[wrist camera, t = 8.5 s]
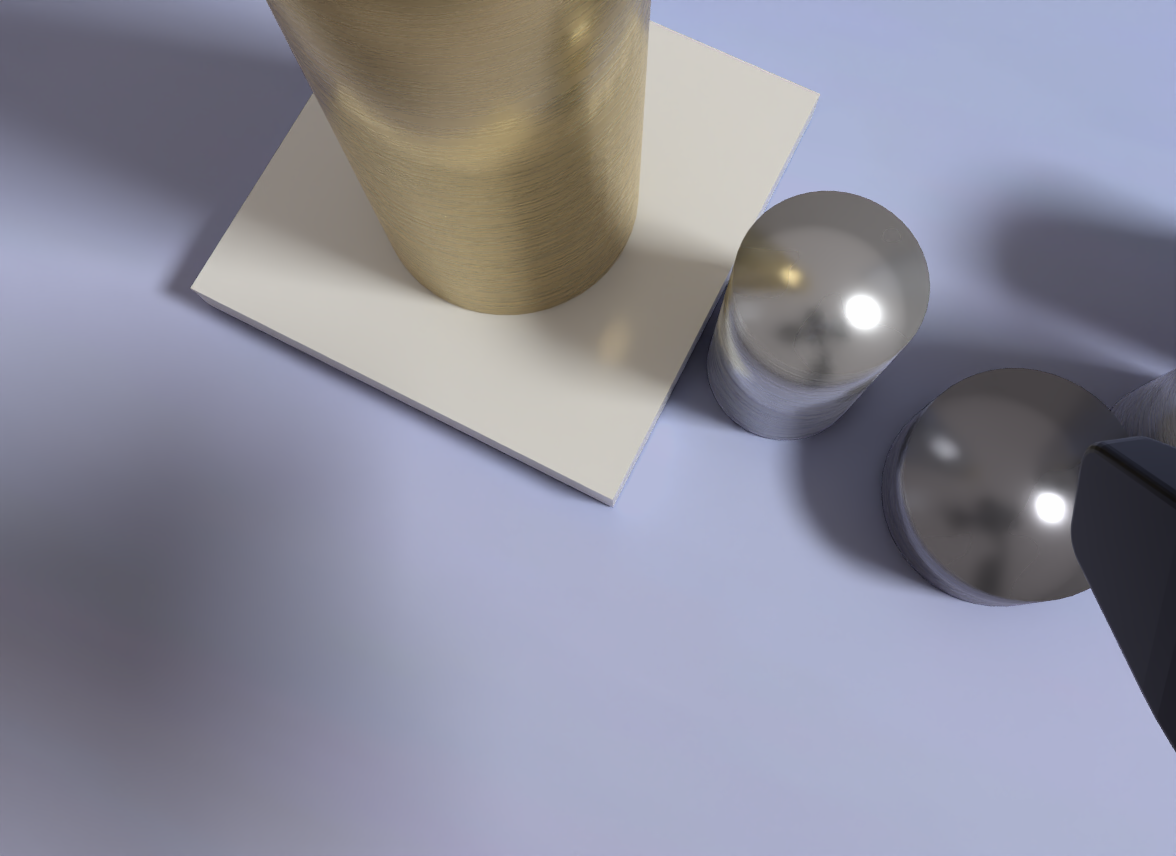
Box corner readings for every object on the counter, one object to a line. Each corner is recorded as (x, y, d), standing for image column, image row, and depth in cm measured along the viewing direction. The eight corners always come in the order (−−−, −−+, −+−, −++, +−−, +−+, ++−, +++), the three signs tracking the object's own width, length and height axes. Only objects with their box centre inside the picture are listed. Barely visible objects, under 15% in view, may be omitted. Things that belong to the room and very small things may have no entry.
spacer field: (1235, 735, 16) (1437, 758, 12) (655, 449, 17) (666, 387, 13) (1394, 297, 17) (1618, 191, 14) (851, 64, 19) (912, -93, 15)
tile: (613, 507, 17) (613, 499, 16) (209, 304, 18) (190, 288, 17) (811, 118, 18) (820, 94, 18) (428, -50, 19) (420, -80, 19)
